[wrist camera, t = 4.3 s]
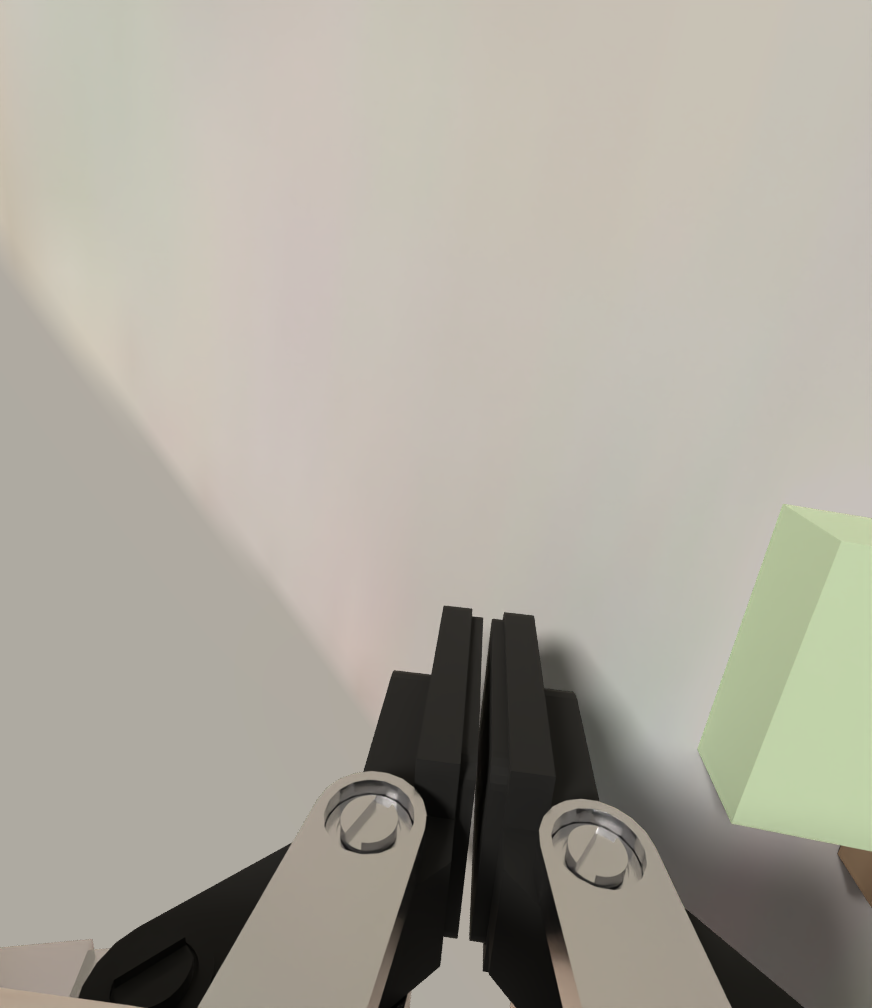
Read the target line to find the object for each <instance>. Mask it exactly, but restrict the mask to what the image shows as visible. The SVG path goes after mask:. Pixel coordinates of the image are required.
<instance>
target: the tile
mask: <svg viewBox="0 0 872 1008" xmlns="http://www.w3.org/2000/svg"><path fill="white" fill-rule="evenodd" d="M698 752H699V754H700V756H701V758H702V760H703V762H704V765H705V767H706V769H707V771H708V773H709V776H710V778H711V780H712V782H713V784H714V786H715V789H716V791H717V793H718V795H719V797H720V800H721V802H722V804H723V806H724V808H725V811H726V813H727V815H728V817H729V819H730V821H731V824H736V825H741V826H746V827H752V828H757V829H762V830H767V831H772V832H777V833H782V834H787V835H792V836H797V837H802V838H807V839H812V840H817V841H822V842H827V843H832V844H837V845H842V846H847V847H852V848H857V849H862V850H867V851H872V518H867V517H860V516H854V515H848V514H842V513H836V512H830V511H824V510H817V509H811V508H805V507H799V506H793V505H787V504H783V505H782V508H781V511H780V514H779V517H778V520H777V523H776V525H775V528H774V531H773V534H772V537H771V540H770V543H769V545H768V548H767V551H766V554H765V557H764V560H763V563H762V566H761V568H760V571H759V574H758V577H757V580H756V583H755V586H754V588H753V591H752V594H751V597H750V600H749V603H748V606H747V609H746V611H745V614H744V617H743V620H742V623H741V626H740V629H739V631H738V634H737V637H736V640H735V643H734V646H733V649H732V652H731V654H730V657H729V660H728V663H727V666H726V669H725V672H724V674H723V677H722V680H721V683H720V686H719V689H718V692H717V694H716V697H715V700H714V703H713V706H712V709H711V712H710V715H709V717H708V720H707V723H706V726H705V729H704V732H703V735H702V737H701V740H700V743H699V746H698Z"/></svg>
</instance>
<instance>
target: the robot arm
mask: <svg viewBox="0 0 872 1008" xmlns="http://www.w3.org/2000/svg"><path fill="white" fill-rule="evenodd" d="M482 635H483V618H481V617H472V609H470V608H461V607H452V606H444V607H443V613H442V618H441V624H440V629H439V635H438V640H437V646H436V652H435V657H434V663H433V668H432V674H431V675H429V674H421V673H412V672H404V671H396V670H394V671H393V673H392V676H391V679H390V682H389V686H388V689H387V693H386V696H385V700H384V703H383V706H382V710H381V713H380V717H379V720H378V724H377V727H376V730H375V734H374V737H373V741H372V744H371V748H370V751H369V754H368V758H367V761H366V765H365V768H364V771H363V772H359V773H354V774H351V775H348V776H346V777H343V778H340V779H338V780H337V781H336V782H334V783H333V784H331V785H330V786H328V787H327V788H326V789H325V790H324V792H323V793H322V794H321V795H320V796H319V798H318V799H317V800H316V802H315V804H314V806H313V807H312V809H311V811H310V813H309V815H308V816H307V818H306V820H305V821H304V823H303V825H302V826H301V828H300V830H299V832H298V833H297V835H296V837H295V839H294V841H293V842H292V843H290V844H289V845H287V846H285V847H283V848H281V849H280V850H278V851H276V852H274V853H272V854H270V855H269V856H267V857H265V858H263V859H261V860H260V861H258V862H256V863H254V864H252V865H250V866H249V867H247V868H245V869H243V870H241V871H240V872H238V873H236V874H234V875H232V876H230V877H229V878H227V879H225V880H223V881H221V882H220V883H218V884H216V885H214V886H212V887H211V888H209V889H207V890H205V891H203V892H201V893H200V894H198V895H196V896H194V897H192V898H191V899H189V900H187V901H185V902H184V903H181V904H180V905H178V906H176V907H174V908H172V909H171V910H169V911H167V912H165V913H163V914H161V915H160V916H158V917H156V918H154V919H152V920H150V921H149V922H147V923H145V924H143V925H141V926H140V927H138V928H136V929H135V930H133V931H132V932H131V933H129V934H128V935H126V936H125V937H124V938H122V939H120V940H119V941H118V942H116V943H115V944H114V945H113V946H112V947H111V948H106V949H95V950H94V946H93V939H86V940H76V941H66V942H65V941H64V942H54V943H43V944H32V945H21V946H10V947H0V1008H410V999H411V991H412V989H414V988H415V987H416V986H417V985H418V984H420V983H421V982H422V981H423V980H424V979H426V978H427V977H428V976H429V975H430V974H432V973H433V972H434V971H435V970H436V969H437V968H438V967H440V963H441V962H440V961H441V953H442V944H443V937H449V938H458V930H459V921H460V913H461V903H462V895H463V886H464V878H465V870H466V861H467V853H468V844H469V836H470V827H471V818H472V810H473V801H474V793H475V809H474V833H473V858H472V882H471V907H470V933H469V935H470V937H469V939H470V941H476V942H482V943H483V971H485V972H489V975H490V976H491V977H492V979H493V980H494V981H495V982H496V984H497V985H498V986H499V987H500V989H502V991H503V992H504V994H505V995H506V996H507V997H508V999H509V1000H510V1001H511V1003H510V1008H804V1007H803V1006H801V1005H800V1004H799V1003H798V1002H797V1001H795V1000H794V999H793V998H792V997H791V996H789V995H788V994H787V993H786V992H785V991H783V990H782V989H781V988H780V987H779V986H777V985H776V984H775V983H774V982H773V981H771V980H770V979H769V978H768V977H767V976H765V975H764V974H763V973H762V972H761V971H759V970H758V969H757V968H756V967H755V966H753V965H752V964H751V963H750V962H749V961H748V960H746V959H745V958H744V957H743V956H742V955H740V954H739V953H738V952H737V951H736V950H734V949H733V948H732V947H731V946H730V945H728V944H727V943H726V942H725V941H724V940H722V939H721V938H720V937H719V936H718V935H716V934H715V933H714V932H713V931H712V930H710V929H709V928H708V927H707V926H706V925H704V924H703V923H702V922H701V921H700V920H698V919H697V918H696V917H695V916H694V915H692V914H691V913H690V912H689V911H688V910H686V909H685V908H684V906H683V904H682V902H681V900H680V898H679V896H678V893H677V891H676V889H675V887H674V885H673V883H672V881H671V879H670V877H669V874H668V872H667V870H666V868H665V866H664V864H663V862H662V860H661V858H660V855H659V853H658V851H657V849H656V847H655V845H654V844H653V842H652V841H651V839H650V838H649V836H648V834H647V833H646V831H645V830H644V829H643V828H642V827H641V826H640V825H638V824H637V823H636V822H635V821H634V820H633V819H632V818H631V817H629V816H628V815H626V814H625V813H623V812H621V811H620V810H618V809H617V808H615V807H612V806H610V805H607V804H604V803H602V802H599V798H598V793H597V789H596V784H595V779H594V775H593V770H592V766H591V761H590V757H589V752H588V748H587V743H586V739H585V734H584V729H583V725H582V720H581V716H580V711H579V707H578V702H577V698H576V695H575V693H574V692H570V691H562V690H554V689H545V688H544V686H543V678H542V671H541V663H540V656H539V649H538V641H537V634H536V627H535V619H534V616H533V615H524V614H515V613H506V612H504V615H503V620H499V619H492V623H491V631H490V640H489V649H488V657H487V666H486V675H485V683H484V692H483V701H482V709H481V718H480V727H479V714H480V687H481V661H482Z"/></svg>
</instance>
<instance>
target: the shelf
mask: <svg viewBox="0 0 872 1008" xmlns="http://www.w3.org/2000/svg"><path fill="white" fill-rule="evenodd" d="M838 855H839V857H840V859H841V860H842V862H843V863H844V865H845V866H846V868H847V870H848V871H849V873H850V874H851V876H852V878H853V879H854V881H855V882H856V884H857V885H858V887H859V889H860V890H861V892H862V893H863V895H864V897H865V898H866V900H867V901H868V903H869V904H870V906H871V908H872V851H867V850H862V849H857V848H852V847H847V846H842V845H841V847H840V849H839V852H838Z"/></svg>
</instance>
